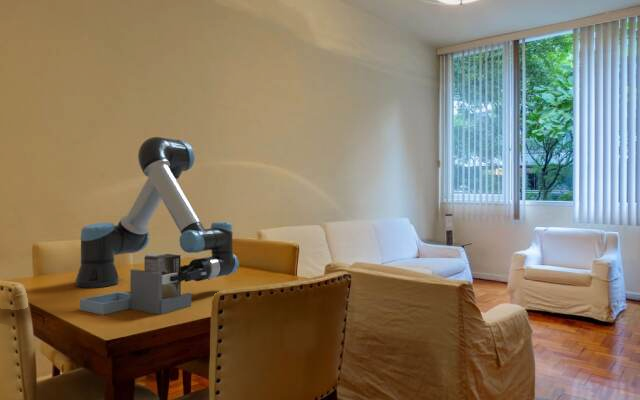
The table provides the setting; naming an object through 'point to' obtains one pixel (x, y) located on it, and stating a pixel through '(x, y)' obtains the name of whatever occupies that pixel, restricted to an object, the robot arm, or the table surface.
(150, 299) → the bracket
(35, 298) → the table surface
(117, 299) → the tray
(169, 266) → the coffee box
